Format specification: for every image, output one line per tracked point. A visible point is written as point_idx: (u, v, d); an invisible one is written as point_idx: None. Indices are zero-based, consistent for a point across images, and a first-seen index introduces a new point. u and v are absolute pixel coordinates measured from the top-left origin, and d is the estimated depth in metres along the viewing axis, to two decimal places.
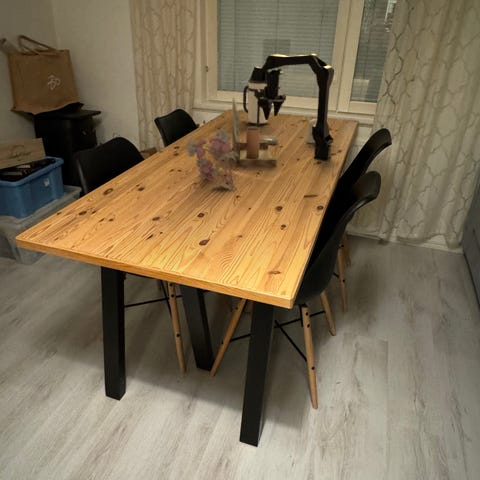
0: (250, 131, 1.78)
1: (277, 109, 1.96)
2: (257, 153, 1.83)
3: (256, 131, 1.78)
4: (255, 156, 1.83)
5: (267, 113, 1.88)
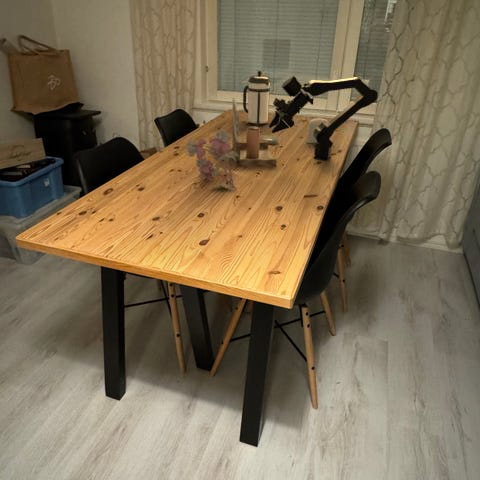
0: (250, 131, 1.78)
1: (275, 123, 1.84)
2: (257, 153, 1.83)
3: (256, 131, 1.78)
4: (255, 156, 1.83)
5: (279, 129, 1.75)
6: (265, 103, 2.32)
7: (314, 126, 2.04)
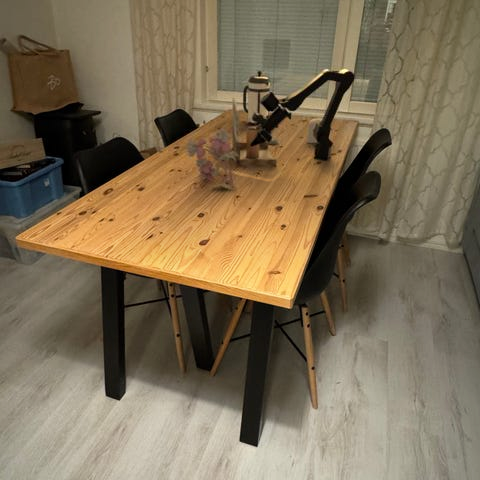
0: (250, 131, 1.78)
1: None
2: (257, 153, 1.83)
3: (256, 131, 1.78)
4: (255, 156, 1.83)
5: (257, 142, 1.79)
6: None
7: (314, 126, 2.04)
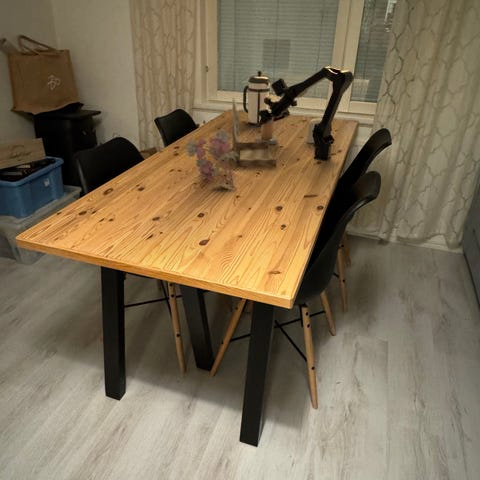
0: None
1: (275, 119, 2.06)
2: (266, 136, 2.05)
3: None
4: (264, 138, 2.06)
5: (262, 123, 1.99)
6: None
7: None
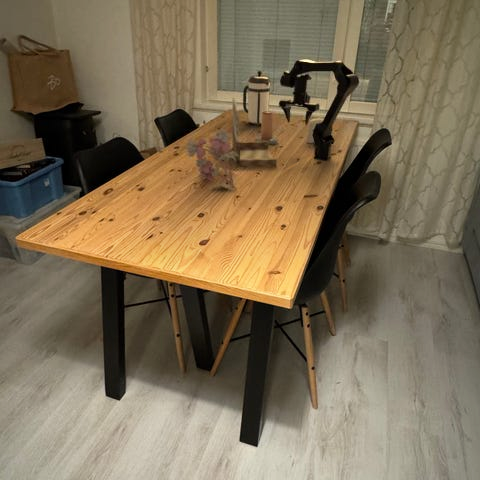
0: (262, 114, 2.02)
1: None
2: (266, 136, 2.05)
3: (265, 115, 2.00)
4: (264, 138, 2.06)
5: None
6: (265, 103, 2.32)
7: (314, 126, 2.04)
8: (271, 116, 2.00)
